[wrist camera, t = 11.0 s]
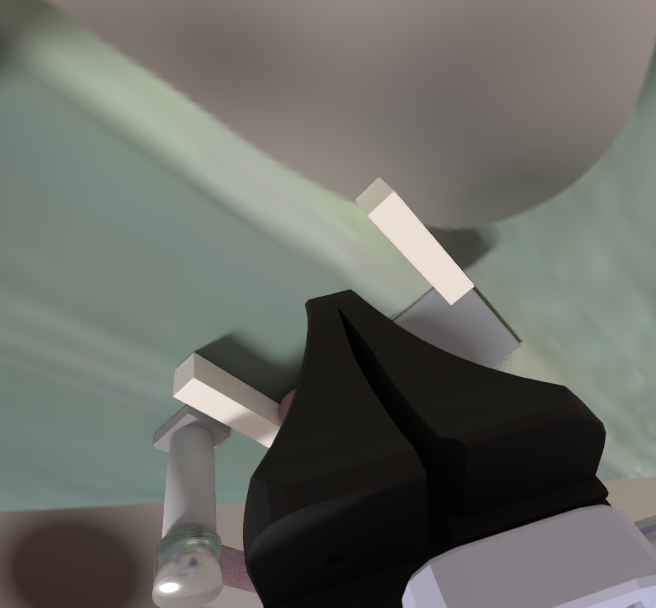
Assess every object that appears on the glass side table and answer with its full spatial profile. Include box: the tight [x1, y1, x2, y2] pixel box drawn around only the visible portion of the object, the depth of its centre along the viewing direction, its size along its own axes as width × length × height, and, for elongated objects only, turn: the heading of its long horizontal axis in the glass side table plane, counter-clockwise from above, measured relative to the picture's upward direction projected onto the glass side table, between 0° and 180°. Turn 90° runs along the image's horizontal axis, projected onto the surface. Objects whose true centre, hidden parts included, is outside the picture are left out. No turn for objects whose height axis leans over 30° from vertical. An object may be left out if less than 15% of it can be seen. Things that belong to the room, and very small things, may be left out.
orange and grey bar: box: [152, 527, 263, 608], centre depth 23 cm, size 13×3×2 cm, turn 45°
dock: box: [152, 177, 474, 538], centre depth 22 cm, size 7×19×7 cm, turn 132°
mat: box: [393, 287, 520, 368], centre depth 28 cm, size 8×12×1 cm, turn 132°
